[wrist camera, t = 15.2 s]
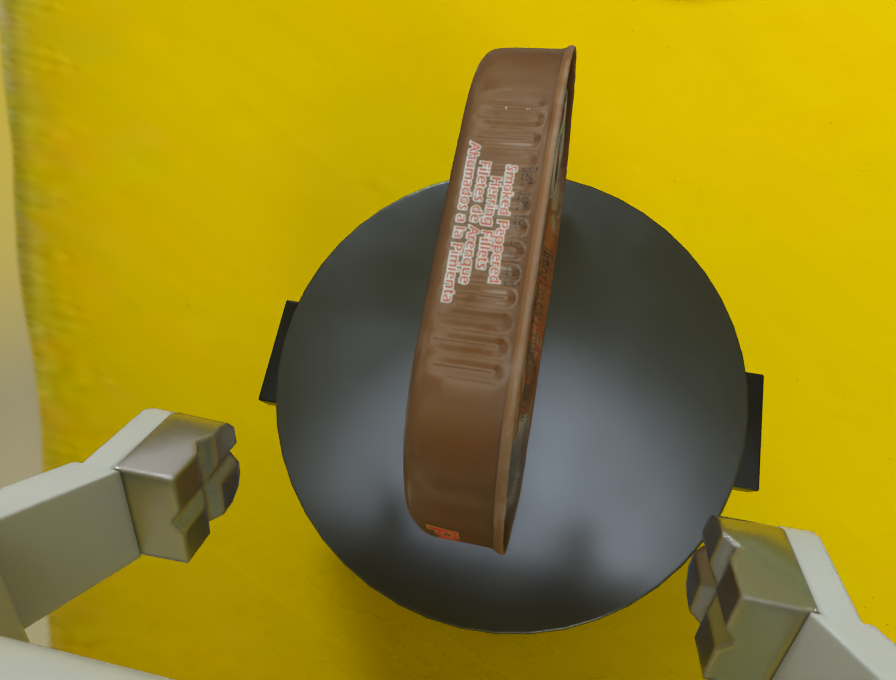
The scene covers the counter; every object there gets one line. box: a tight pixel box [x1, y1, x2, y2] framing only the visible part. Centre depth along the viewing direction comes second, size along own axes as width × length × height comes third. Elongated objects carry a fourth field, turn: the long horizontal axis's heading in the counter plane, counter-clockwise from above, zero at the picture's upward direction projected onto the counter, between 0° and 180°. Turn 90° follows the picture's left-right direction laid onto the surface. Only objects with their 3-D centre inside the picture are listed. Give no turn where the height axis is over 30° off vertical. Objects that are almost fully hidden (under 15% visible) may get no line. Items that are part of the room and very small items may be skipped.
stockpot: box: [259, 179, 764, 634], centre depth 26 cm, size 19×17×9 cm
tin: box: [403, 46, 576, 555], centre depth 18 cm, size 15×3×8 cm, turn 169°
